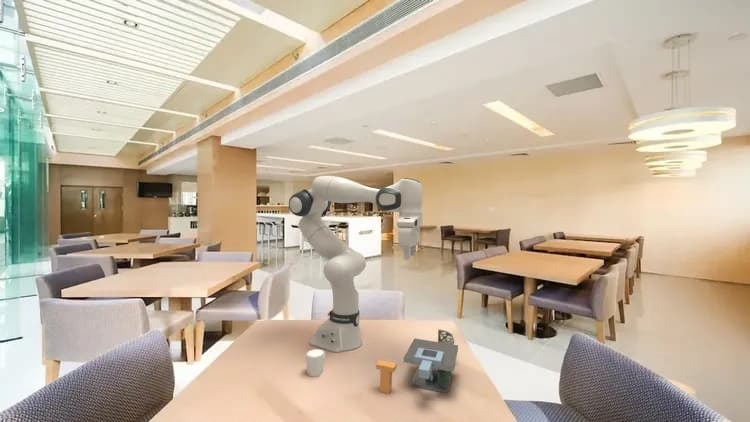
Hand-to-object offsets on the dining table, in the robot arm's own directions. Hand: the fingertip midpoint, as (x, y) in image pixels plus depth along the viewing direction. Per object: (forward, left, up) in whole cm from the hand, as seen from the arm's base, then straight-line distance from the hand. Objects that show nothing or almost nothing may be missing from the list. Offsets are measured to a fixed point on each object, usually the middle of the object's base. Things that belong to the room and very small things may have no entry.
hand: (410, 257), depth 117 cm
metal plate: (+10, -8, -40) cm, 43 cm away
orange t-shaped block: (-3, -19, -41) cm, 45 cm away
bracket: (+10, -17, -32) cm, 38 cm away
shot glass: (-30, -18, -41) cm, 54 cm away
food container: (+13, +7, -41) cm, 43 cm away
